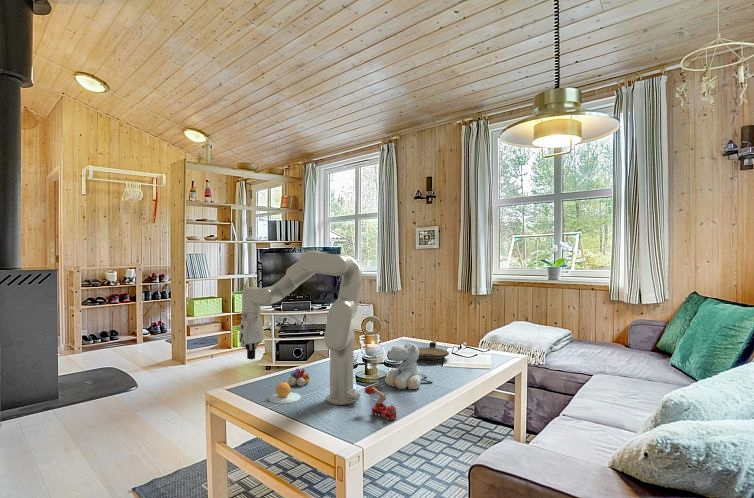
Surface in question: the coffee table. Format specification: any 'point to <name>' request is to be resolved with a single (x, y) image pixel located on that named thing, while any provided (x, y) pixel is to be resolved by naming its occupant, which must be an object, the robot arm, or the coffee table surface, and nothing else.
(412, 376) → the hippo plush
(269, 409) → the coffee table surface
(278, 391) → the ball
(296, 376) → the multicolored petal flower toy
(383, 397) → the toy fire truck
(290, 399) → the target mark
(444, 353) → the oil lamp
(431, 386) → the coffee table surface
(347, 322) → the robot arm
